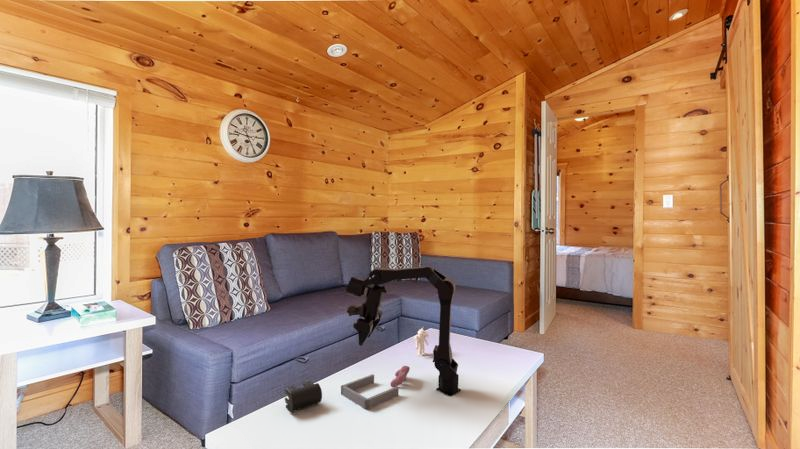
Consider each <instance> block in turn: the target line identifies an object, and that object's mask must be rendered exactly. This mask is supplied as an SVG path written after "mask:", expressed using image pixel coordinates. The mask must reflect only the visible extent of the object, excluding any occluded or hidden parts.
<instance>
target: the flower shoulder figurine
mask: <svg viewBox="0 0 800 449" xmlns="http://www.w3.org/2000/svg"><path fill="white" fill-rule="evenodd" d="M428 338H429V333H428V332H427V331H425V330H424V327H421V329H420V328H419V329H418V330H417V334H416V335H415V336H413V340H414V342H415V349H416V350H418V351H417V356H419V357H423V355H426V354H427V353H426V352H425V345H427V346H429V342H428Z"/></svg>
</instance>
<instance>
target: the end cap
mask: <svg viewBox="0 0 800 449" xmlns="http://www.w3.org/2000/svg"><path fill="white" fill-rule="evenodd" d="M302 386H303V387H296V386H295V385H292V386H288V387H286V388H285V391H284V394H285V395H286V397H284V402H285V404H286V405H285V408H286V409H287V411H289V413H294V412H296V411H300V410H303V409H306V408H308V407H312V406H315V405H317V404H319V403H321V401H322V400H323V399H322V398H323V391H322V388H321V385H320V384H319V383H318V382H317V383H313V382H312V381H306V382H303V383H302ZM287 397H288V398H287Z"/></svg>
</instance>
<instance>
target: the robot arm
mask: <svg viewBox="0 0 800 449" xmlns="http://www.w3.org/2000/svg"><path fill="white" fill-rule="evenodd" d="M423 278H424V279H426V280H427V281H428V282H429V283H431V285H432V286H433V287H434V288H436V290H437V295H438V297H437V298H438V302H439V305H440V306H439V307H440V308H439V331H438V345H437V344H436V345H435V346H434V348H433V350H432V354H433V355H432V356H433V359H432V363H433V364H434V368H435V369H436V370H437V371H438V373H439V375H438V382H437V383H438V385H437V386H438V387H436V389H435V391H437V392H440V393H441V394H443V395H446V396H448V397H452V396H454V395H456V394H457V393H459V392H461V391H462V389H461V388H460V387H459V378H460V377H459V374H458V373H457V372H458V367H459V364H458V362H457V361H456V360H455V359H454V358H453V352H452V351H453V350H452V347H451V324H452V322H451V319H452V304H453V300H454V295H455V292H456V288H457V287H456V281H455V280H454V279H453V278H451V277H446V276H445V275H444V274H442V273H441V272H440V271H438V270H436V269H435V268H434V267H433V266H432V265H425V266H415V267H414V266H413V267H403V268H390V267H386V266H385V267H383V266H380V267H375V268H374V269H372V270H371V271H369V274H368V277H366V278H364V279H363V278H359V277H357V276H354V275H353V276H351V277H350V280H349V281H348V283H347V286H346V289H345V293H346V295H350V296H353V297H357V298H360V299H362V298H363V297H364V296H365V301H364V302H363V303H359V304H358V303H357V304H350V305H349V306H347V308H346V313H347V314H348V316H349V317H352V316H359V318H357V319H356V320H355V321H354V322H353V326H352V328H353V329H354V330H356V332H357V334H358V335H357V336H358V345H359V346H363V345H364V343H365V341H366V340H367V339H368V338H370V337H371V335H372V334H373V332H374V331H375V329H376V328H377V326H378V325H379V324H380V322H381V321H382V318H383V316H384V313H383V311H382V310H380V308H382V304H381V303H382V298H383V294H387V293H389V291H390V289H389V287H387V283H390V282H393V281H397V280H398V281H399V280H412V279H423ZM382 284H384V285H382Z"/></svg>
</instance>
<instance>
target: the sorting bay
mask: <svg viewBox="0 0 800 449" xmlns="http://www.w3.org/2000/svg"><path fill="white" fill-rule="evenodd" d="M374 383H375V374H370V375H367V376H364V377H361V378H358V379H356V380H353V381H350V382H348V383H345V384H342V385H341V386H340V396H341V395H342V396H343V397H344V398H346V399H348V400H349V401H351V402H353V403H354V404H355V405H358V406H360V407H361V408H363V409H364V410H366V411H368V410H370V409H372V408H375V407H377V406H379V405H381V404H383V403H385V402H388V401H391V400H393V399H394V398H397V397H399V389H400V388H399V386H396V387H392V388H389V389H387V390H385V391H381V392H379V393H377V394H375V395H373V396H370V397H365V396H364V395H362V394H360V393H358V392H357V390H361V389H363V388H365V387H369V386H370V385H373V384H374Z"/></svg>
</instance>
